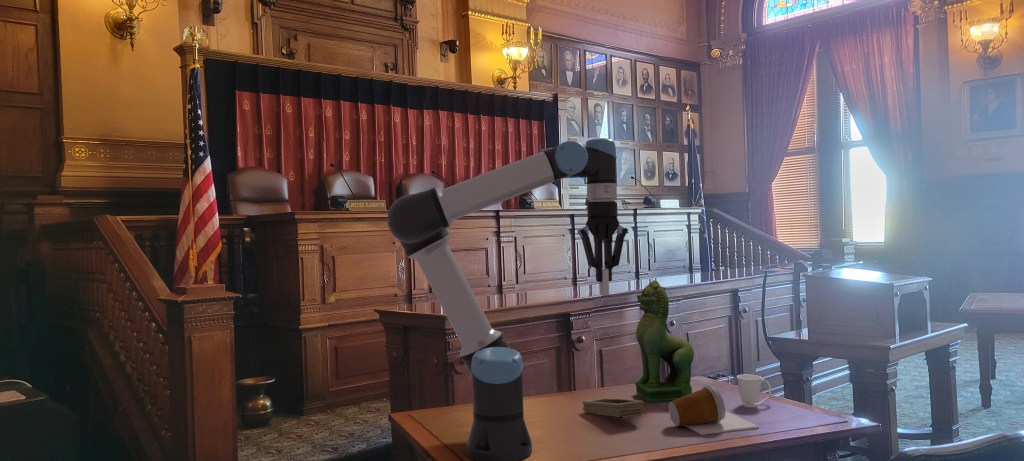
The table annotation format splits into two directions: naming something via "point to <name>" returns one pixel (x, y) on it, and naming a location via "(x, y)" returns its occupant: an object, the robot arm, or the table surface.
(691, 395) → the disposable coffee cup
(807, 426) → the table surface
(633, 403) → the box
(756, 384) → the cup
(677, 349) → the lion statue
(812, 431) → the table surface
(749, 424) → the felt mat
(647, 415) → the table surface
